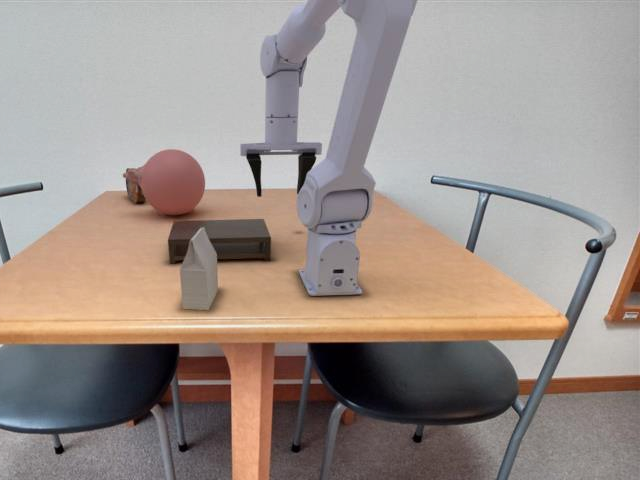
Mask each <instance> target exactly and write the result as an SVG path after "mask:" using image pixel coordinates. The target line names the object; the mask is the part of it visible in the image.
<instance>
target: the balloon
mask: <svg viewBox="0 0 640 480" xmlns="http://www.w3.org/2000/svg"><path fill="white" fill-rule="evenodd" d="M135 169H136V170H135V171H134V170H129V171H128V172H126V171H125V172H124V173H122V177H123V178H124V179H125V180H126V179H127V180H128V181H129V182H131V183H132V184H133V185H135V184H136V185H139V186H140V187H141V189H142V192H143V194H144V197H145V198H146V200H145V201H146V202H147V203H148V204H149V205H150V206H151V208H153V209H154V210H156V211H157V212H159V213H161V214H164V215H167V216H181V215H184V214H188V213H189V212H191V211H192V210H194V209H195V208H196V207H197V206H198V205H199V204H200V202H201V201H202V199H203V197H204V195H205V191H206V177H205V174H204V171H203V170H204V169H203V168H202V166H201V165H200V163H199V162H198V161H197V159H196V158H195V157H194V156H192V155H190V154H189V153H187V152H186V151H183V150H180V149H175V148H174V149H173V148H170V149H169V148H168V149H164V150H160V151H158V152H156V153H154V154H153V155H152V156H150V158H149V159H148V160H147V161H146V162H145V163H144V164H143V165H142V166H138V167H137V168H135Z"/></svg>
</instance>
